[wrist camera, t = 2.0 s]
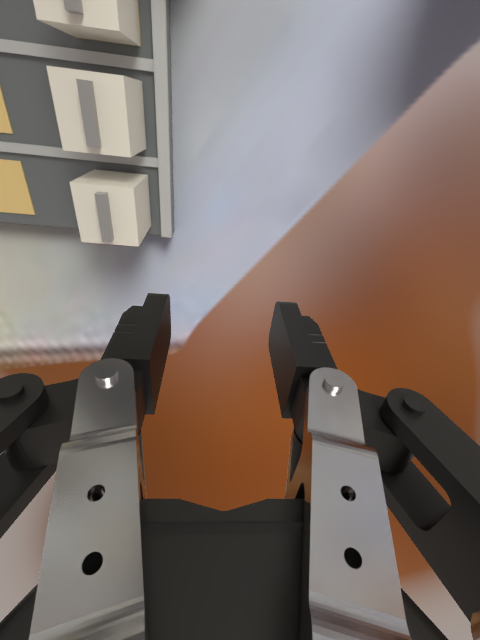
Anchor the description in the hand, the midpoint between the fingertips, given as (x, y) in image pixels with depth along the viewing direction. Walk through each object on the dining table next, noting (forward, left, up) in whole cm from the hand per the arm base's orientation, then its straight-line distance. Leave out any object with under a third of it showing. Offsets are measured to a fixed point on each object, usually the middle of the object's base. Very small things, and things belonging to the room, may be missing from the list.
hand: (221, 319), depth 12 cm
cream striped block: (0, -8, -15) cm, 17 cm away
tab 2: (-5, -8, -15) cm, 18 cm away
